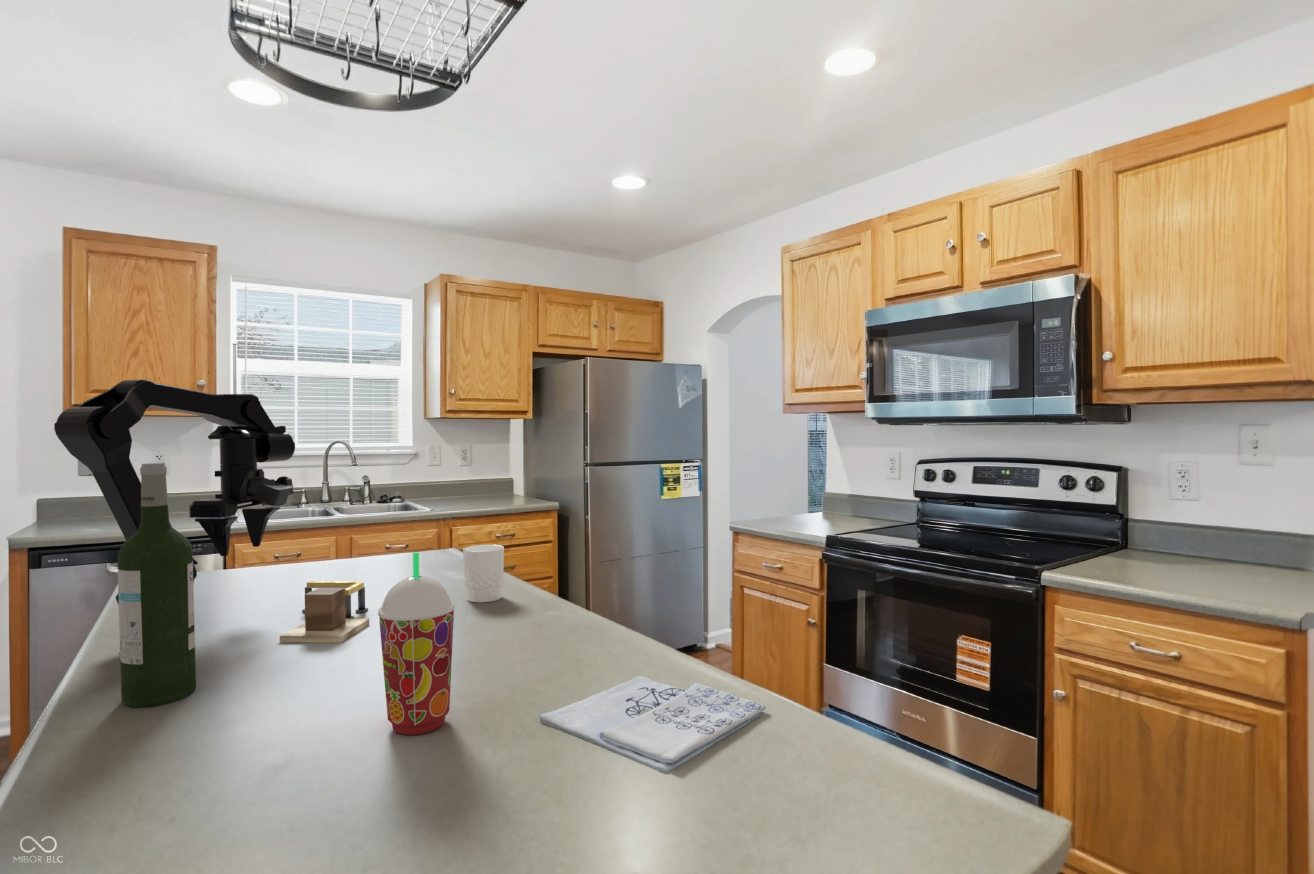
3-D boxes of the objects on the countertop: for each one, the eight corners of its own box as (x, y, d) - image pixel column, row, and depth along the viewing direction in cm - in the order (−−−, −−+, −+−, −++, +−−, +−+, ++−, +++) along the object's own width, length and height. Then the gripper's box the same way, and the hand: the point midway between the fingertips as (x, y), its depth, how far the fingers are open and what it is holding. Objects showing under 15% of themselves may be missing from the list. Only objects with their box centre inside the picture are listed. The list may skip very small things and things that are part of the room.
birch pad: (341, 642, 114) (341, 636, 114) (279, 642, 114) (279, 635, 114) (369, 624, 124) (369, 618, 124) (312, 624, 124) (312, 618, 124)
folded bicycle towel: (667, 780, 71) (667, 759, 71) (534, 725, 84) (534, 706, 84) (769, 718, 85) (769, 700, 85) (642, 679, 98) (642, 663, 98)
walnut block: (332, 631, 117) (331, 594, 116) (305, 630, 117) (304, 594, 117) (345, 623, 121) (344, 587, 121) (319, 622, 121) (319, 587, 121)
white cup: (513, 596, 142) (512, 546, 142) (484, 605, 136) (483, 553, 135) (484, 591, 146) (484, 543, 146) (455, 600, 140) (454, 549, 140)
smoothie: (380, 716, 85) (377, 549, 85) (453, 705, 88) (450, 544, 88) (379, 746, 77) (376, 562, 77) (459, 733, 80) (456, 556, 80)
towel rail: (349, 621, 126) (349, 590, 125) (285, 621, 126) (284, 590, 126) (368, 610, 133) (367, 581, 133) (306, 610, 133) (306, 581, 133)
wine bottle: (210, 687, 95) (205, 461, 94) (154, 710, 87) (147, 465, 87) (164, 681, 97) (158, 461, 96) (105, 704, 90) (98, 465, 89)
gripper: (251, 467, 118) (253, 561, 119) (310, 460, 137) (312, 542, 137) (185, 468, 119) (188, 561, 119) (253, 461, 137) (255, 542, 138)
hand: (240, 551), depth 128 cm, fingers open, 9 cm apart
